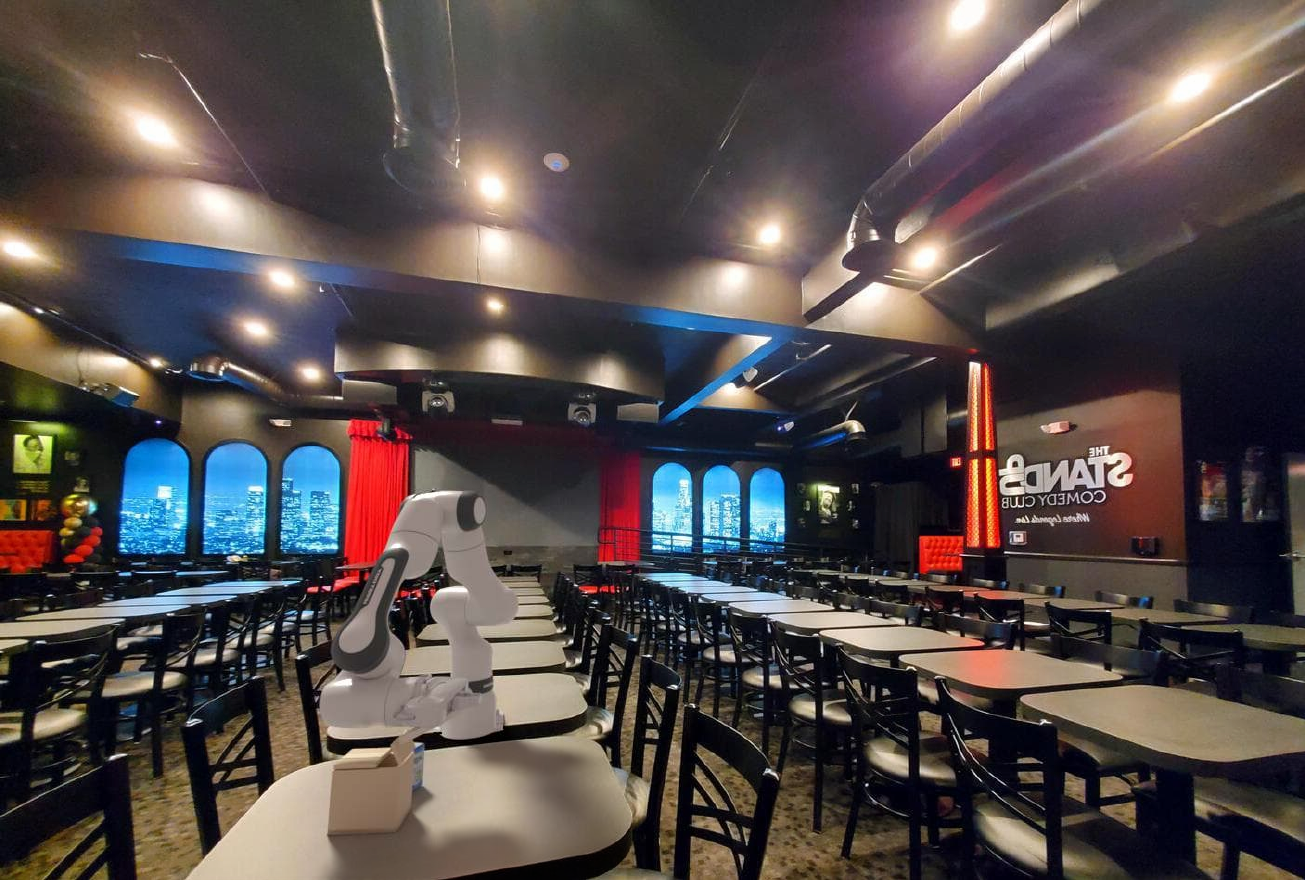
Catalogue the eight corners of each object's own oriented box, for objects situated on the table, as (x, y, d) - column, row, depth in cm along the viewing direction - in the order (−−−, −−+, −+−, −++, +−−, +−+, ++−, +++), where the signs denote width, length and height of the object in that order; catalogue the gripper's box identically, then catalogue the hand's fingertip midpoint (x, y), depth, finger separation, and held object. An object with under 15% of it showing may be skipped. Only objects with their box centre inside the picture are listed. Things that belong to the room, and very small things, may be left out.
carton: (347, 813, 108) (352, 748, 110) (410, 810, 109) (414, 745, 111) (327, 835, 100) (333, 764, 102) (395, 831, 101) (399, 762, 103)
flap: (404, 730, 111) (464, 700, 113) (412, 749, 110) (472, 718, 112) (390, 744, 103) (454, 712, 105) (398, 765, 103) (462, 732, 105)
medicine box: (399, 802, 112) (402, 756, 113) (380, 800, 113) (383, 755, 114) (422, 785, 120) (425, 742, 121) (404, 783, 120) (407, 741, 122)
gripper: (389, 700, 98) (467, 698, 100) (426, 672, 119) (491, 670, 120) (386, 738, 97) (466, 735, 99) (424, 703, 118) (490, 701, 119)
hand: (480, 699), depth 109 cm, fingers closed
